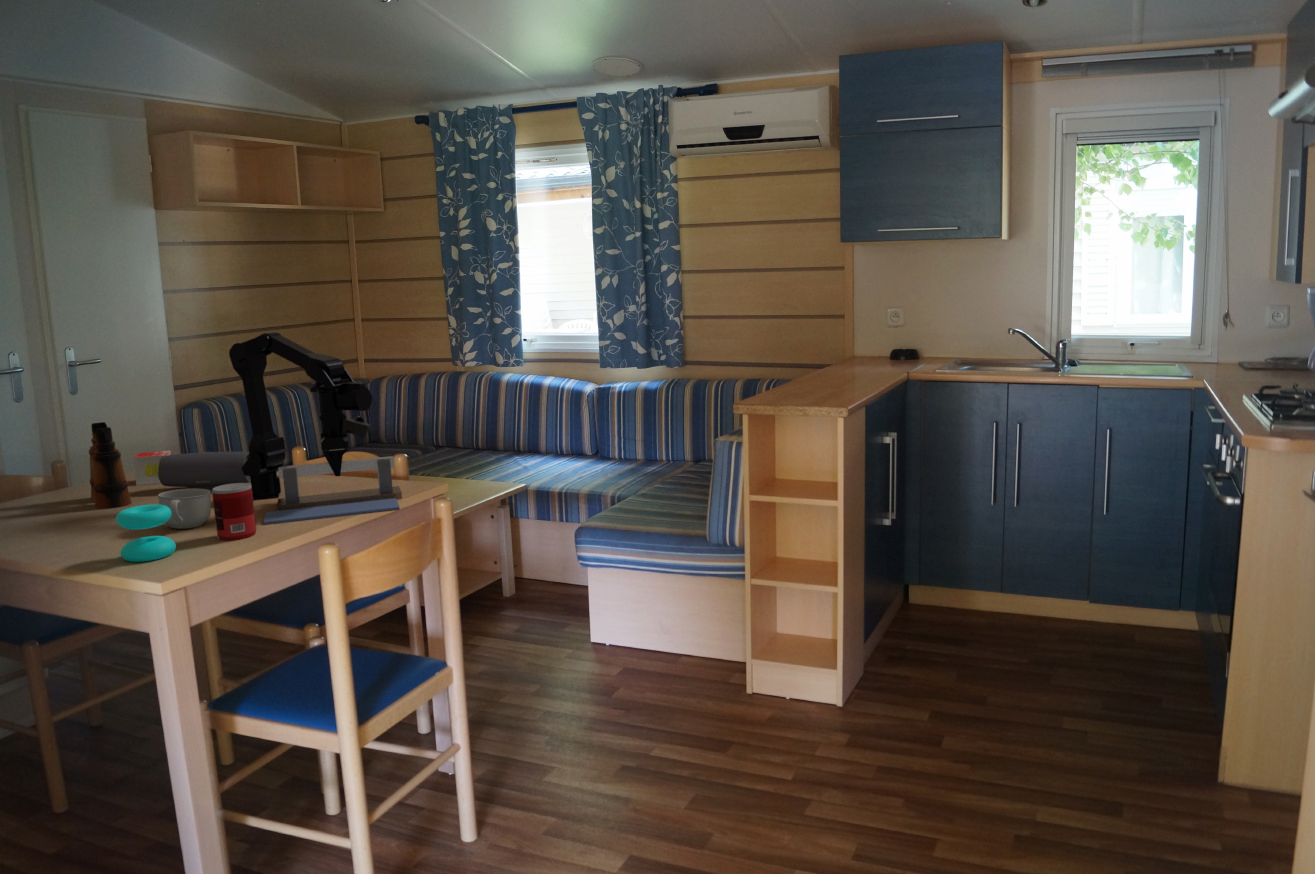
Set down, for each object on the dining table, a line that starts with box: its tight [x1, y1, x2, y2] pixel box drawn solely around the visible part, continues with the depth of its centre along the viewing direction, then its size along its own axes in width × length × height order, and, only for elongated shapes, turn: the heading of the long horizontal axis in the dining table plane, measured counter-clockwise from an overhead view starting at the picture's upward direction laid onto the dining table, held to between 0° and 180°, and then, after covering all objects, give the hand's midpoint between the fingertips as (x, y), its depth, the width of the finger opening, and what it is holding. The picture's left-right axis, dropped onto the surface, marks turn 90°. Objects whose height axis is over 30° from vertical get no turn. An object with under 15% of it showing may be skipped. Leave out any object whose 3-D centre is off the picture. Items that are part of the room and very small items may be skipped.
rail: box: [277, 455, 395, 479], centre depth 241 cm, size 27×2×2 cm, turn 109°
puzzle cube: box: [132, 450, 172, 486], centre depth 277 cm, size 8×8×8 cm
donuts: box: [115, 503, 177, 563], centre depth 199 cm, size 10×10×10 cm
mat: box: [263, 498, 401, 525], centre depth 232 cm, size 30×10×1 cm, turn 109°
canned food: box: [211, 482, 257, 542], centre depth 212 cm, size 8×8×11 cm
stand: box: [276, 460, 403, 511], centre depth 242 cm, size 29×8×10 cm, turn 109°
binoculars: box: [88, 421, 132, 510], centre depth 251 cm, size 18×8×20 cm, turn 35°
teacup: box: [157, 488, 212, 530], centre depth 222 cm, size 14×11×8 cm
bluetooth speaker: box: [158, 451, 251, 491], centre depth 264 cm, size 23×9×10 cm, turn 92°
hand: (337, 472), depth 241 cm, fingers open, 9 cm apart
